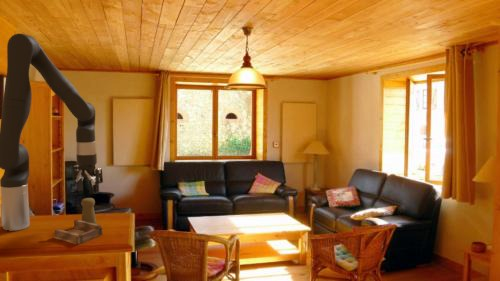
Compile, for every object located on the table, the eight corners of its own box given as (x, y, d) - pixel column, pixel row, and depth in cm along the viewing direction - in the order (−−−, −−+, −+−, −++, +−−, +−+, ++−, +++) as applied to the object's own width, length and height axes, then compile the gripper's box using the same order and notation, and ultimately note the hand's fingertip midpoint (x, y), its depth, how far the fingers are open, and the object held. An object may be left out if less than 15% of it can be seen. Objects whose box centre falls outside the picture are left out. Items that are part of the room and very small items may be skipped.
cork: (91, 227, 163) (90, 201, 161) (77, 226, 164) (76, 200, 162) (99, 222, 169) (98, 197, 167) (86, 221, 170) (85, 196, 168)
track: (53, 237, 151) (53, 227, 151) (78, 228, 161) (77, 219, 161) (78, 244, 146) (78, 234, 145) (102, 234, 156) (102, 224, 155)
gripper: (65, 152, 162) (67, 192, 164) (92, 155, 156) (93, 196, 158) (81, 149, 168) (82, 187, 171) (106, 152, 162) (108, 192, 165)
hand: (88, 192), depth 164 cm, fingers open, 8 cm apart
